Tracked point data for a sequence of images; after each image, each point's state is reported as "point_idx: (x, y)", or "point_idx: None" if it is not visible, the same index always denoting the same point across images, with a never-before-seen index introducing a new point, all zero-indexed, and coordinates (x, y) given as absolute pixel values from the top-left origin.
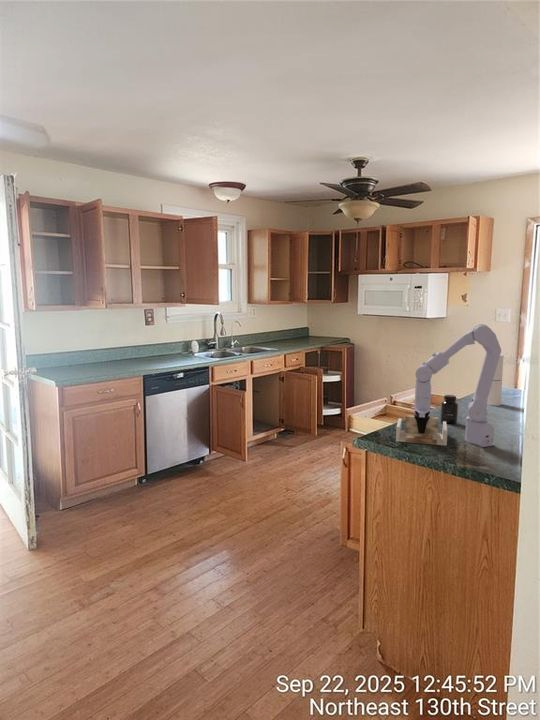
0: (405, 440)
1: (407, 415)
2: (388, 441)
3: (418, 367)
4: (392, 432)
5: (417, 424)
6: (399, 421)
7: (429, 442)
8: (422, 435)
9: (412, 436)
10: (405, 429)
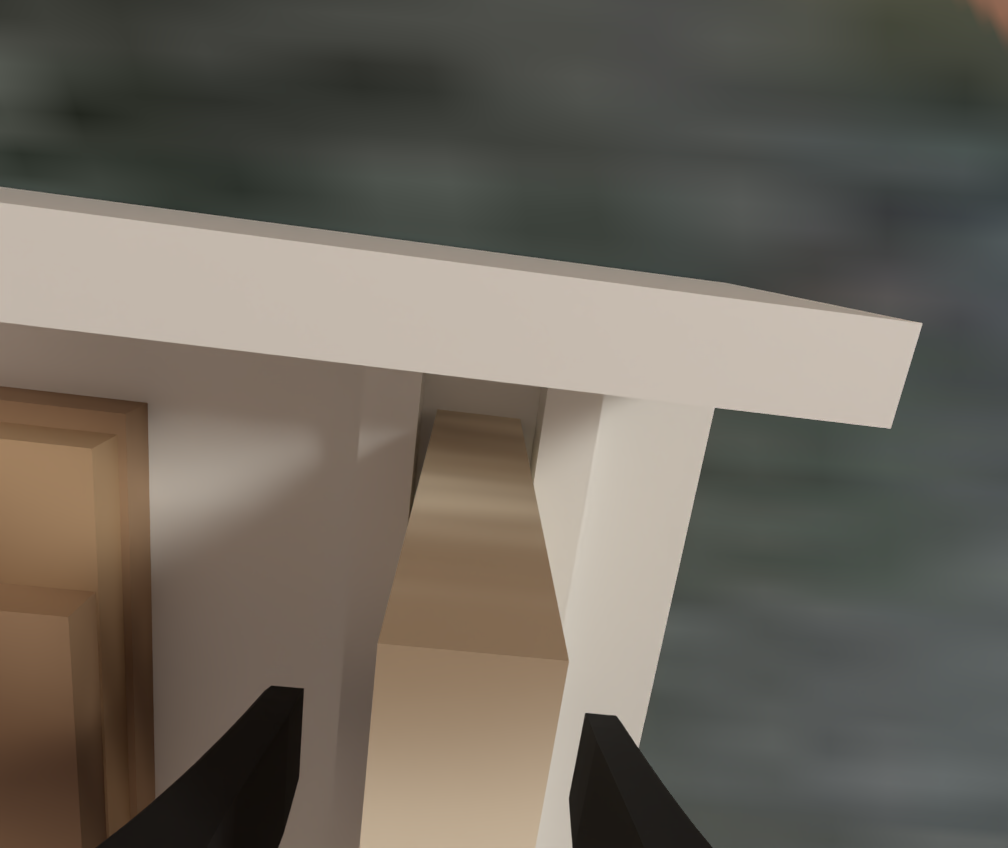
0: (55, 385)
1: (552, 714)
2: (41, 24)
3: None
4: (730, 162)
5: (120, 828)
6: (449, 325)
7: None
8: (3, 749)
9: (36, 548)
10: (430, 446)
